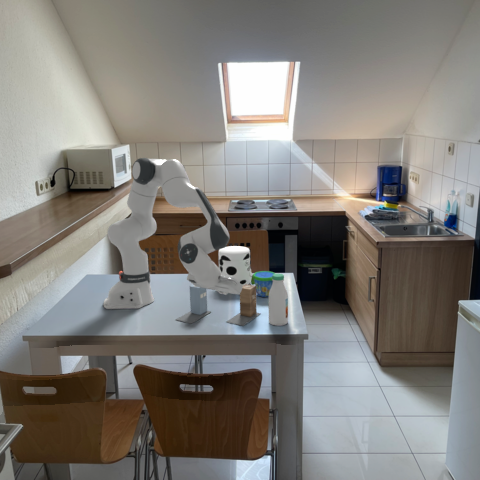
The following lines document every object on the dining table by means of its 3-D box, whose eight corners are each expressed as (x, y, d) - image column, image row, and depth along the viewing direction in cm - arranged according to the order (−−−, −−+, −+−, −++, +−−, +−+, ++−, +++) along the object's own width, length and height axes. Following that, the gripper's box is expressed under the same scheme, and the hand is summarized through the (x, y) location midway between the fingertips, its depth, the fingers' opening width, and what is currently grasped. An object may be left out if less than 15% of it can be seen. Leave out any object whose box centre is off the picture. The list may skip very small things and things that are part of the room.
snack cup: (284, 296, 218) (284, 275, 216) (267, 302, 212) (267, 280, 210) (262, 288, 230) (262, 268, 228) (245, 293, 224) (245, 272, 222)
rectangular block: (200, 315, 198) (199, 287, 195) (190, 312, 201) (189, 285, 198) (207, 311, 202) (206, 284, 199) (197, 308, 205) (196, 282, 202)
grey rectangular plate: (243, 326, 187) (243, 325, 187) (226, 322, 191) (226, 321, 191) (260, 314, 199) (260, 313, 199) (244, 310, 203) (244, 309, 203)
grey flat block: (191, 323, 191) (191, 323, 191) (175, 320, 195) (175, 319, 195) (211, 312, 202) (211, 311, 202) (196, 308, 206) (196, 308, 206)
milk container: (259, 284, 236) (259, 249, 232) (234, 293, 225) (233, 256, 220) (235, 277, 248) (234, 243, 244) (210, 285, 237) (209, 250, 233)
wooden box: (250, 317, 195) (250, 289, 192) (240, 314, 197) (239, 287, 194) (256, 313, 199) (256, 285, 196) (246, 310, 201) (245, 283, 199)
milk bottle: (282, 327, 185) (282, 279, 180) (265, 323, 189) (264, 276, 184) (291, 320, 191) (291, 273, 187) (274, 317, 195) (274, 270, 191)
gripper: (236, 271, 166) (250, 289, 176) (189, 263, 176) (206, 281, 187) (229, 287, 163) (245, 304, 173) (182, 278, 173) (199, 295, 184)
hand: (224, 292), depth 180 cm, fingers closed
